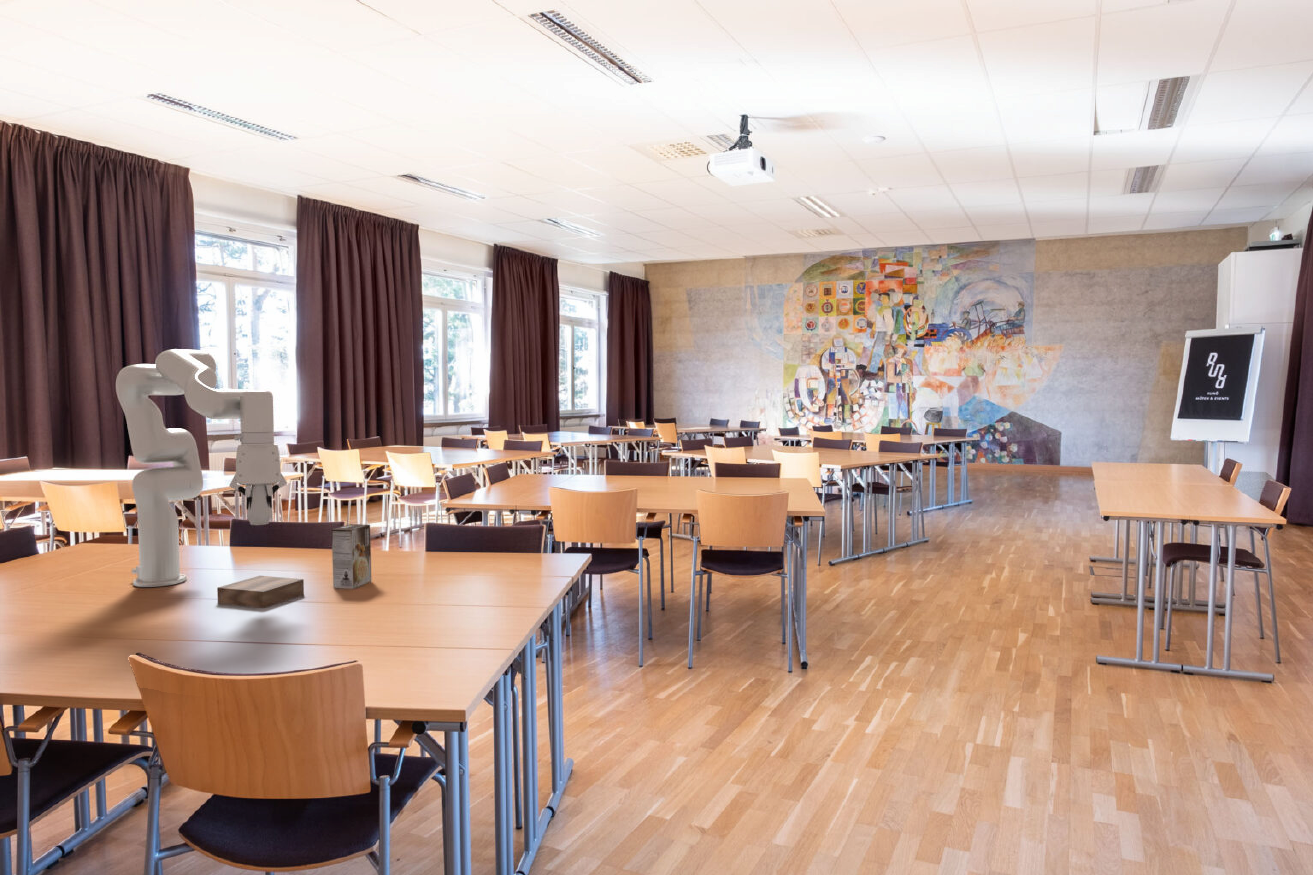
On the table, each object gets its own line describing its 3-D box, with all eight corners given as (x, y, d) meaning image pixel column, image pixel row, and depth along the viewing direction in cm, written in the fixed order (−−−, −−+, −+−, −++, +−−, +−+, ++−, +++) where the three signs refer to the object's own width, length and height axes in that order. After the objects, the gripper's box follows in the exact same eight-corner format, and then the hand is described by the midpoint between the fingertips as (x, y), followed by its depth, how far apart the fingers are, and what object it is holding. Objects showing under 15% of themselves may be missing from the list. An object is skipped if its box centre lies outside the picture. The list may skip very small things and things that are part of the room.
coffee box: (351, 580, 231) (350, 523, 230) (372, 581, 230) (371, 524, 229) (332, 588, 222) (330, 528, 222) (353, 589, 221) (352, 529, 220)
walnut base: (217, 603, 206) (217, 587, 206) (260, 590, 220) (259, 575, 219) (263, 607, 202) (263, 591, 202) (303, 594, 215) (303, 579, 215)
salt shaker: (252, 522, 212) (251, 471, 212) (275, 521, 213) (274, 471, 212) (243, 525, 206) (241, 473, 206) (266, 525, 207) (265, 473, 206)
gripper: (220, 441, 201) (222, 516, 202) (294, 439, 209) (295, 511, 210) (220, 439, 208) (222, 511, 209) (291, 437, 216) (293, 507, 217)
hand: (259, 511), depth 210 cm, fingers closed on salt shaker, 3 cm apart
